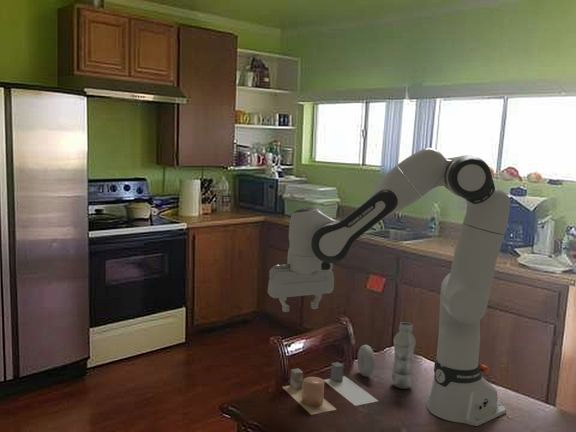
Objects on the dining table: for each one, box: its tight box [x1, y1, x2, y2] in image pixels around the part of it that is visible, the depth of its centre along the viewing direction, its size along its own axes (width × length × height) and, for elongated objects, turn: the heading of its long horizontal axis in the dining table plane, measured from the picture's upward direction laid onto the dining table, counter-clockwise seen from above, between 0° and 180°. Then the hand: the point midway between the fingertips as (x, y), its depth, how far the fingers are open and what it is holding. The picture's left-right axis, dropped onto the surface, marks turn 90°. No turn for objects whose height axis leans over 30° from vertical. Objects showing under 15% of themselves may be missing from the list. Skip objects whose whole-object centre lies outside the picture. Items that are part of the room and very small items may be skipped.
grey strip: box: [323, 361, 379, 407], centre depth 162 cm, size 8×18×6 cm, turn 26°
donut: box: [357, 344, 376, 378], centre depth 175 cm, size 10×4×10 cm, turn 10°
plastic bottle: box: [390, 321, 416, 390], centre depth 168 cm, size 6×7×20 cm
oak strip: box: [281, 368, 337, 416], centre depth 156 cm, size 8×18×6 cm, turn 26°
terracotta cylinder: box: [302, 376, 325, 407], centre depth 153 cm, size 6×6×6 cm
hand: (300, 309), depth 159 cm, fingers open, 8 cm apart
